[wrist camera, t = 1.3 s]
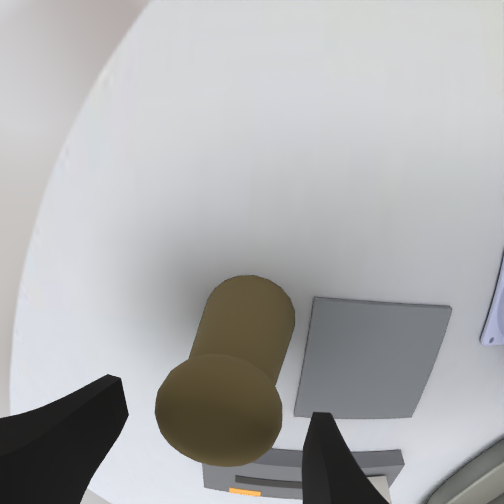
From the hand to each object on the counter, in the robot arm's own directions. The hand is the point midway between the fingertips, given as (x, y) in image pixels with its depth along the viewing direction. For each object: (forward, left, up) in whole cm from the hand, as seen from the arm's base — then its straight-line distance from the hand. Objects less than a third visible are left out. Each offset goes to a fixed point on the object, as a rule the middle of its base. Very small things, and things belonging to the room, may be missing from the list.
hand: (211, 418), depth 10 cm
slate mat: (-9, +4, -10) cm, 14 cm away
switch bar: (-6, +17, -10) cm, 21 cm away
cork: (0, +1, -11) cm, 11 cm away
